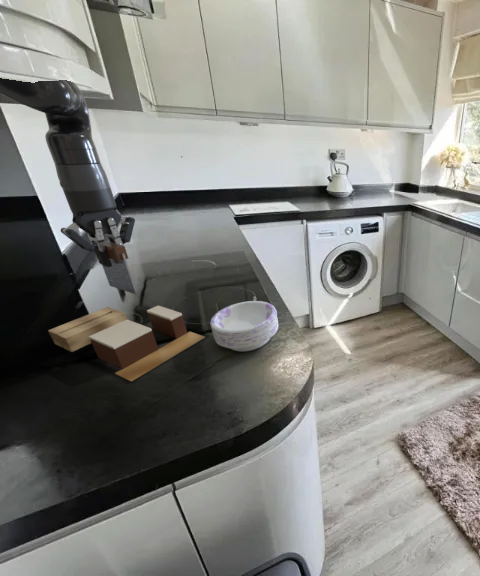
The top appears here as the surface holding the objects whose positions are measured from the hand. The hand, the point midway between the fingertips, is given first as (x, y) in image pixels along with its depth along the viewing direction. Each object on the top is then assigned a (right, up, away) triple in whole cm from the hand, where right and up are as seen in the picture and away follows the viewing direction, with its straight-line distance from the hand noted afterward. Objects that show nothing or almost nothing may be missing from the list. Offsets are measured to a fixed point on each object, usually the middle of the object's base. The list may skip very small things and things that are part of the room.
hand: (114, 264), depth 74 cm
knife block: (-12, -18, +9) cm, 24 cm away
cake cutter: (0, -6, +3) cm, 7 cm away
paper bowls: (+27, -19, +9) cm, 35 cm away
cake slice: (+6, -17, +10) cm, 21 cm away
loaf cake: (+2, -21, +2) cm, 21 cm away
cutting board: (+4, -20, +5) cm, 21 cm away
